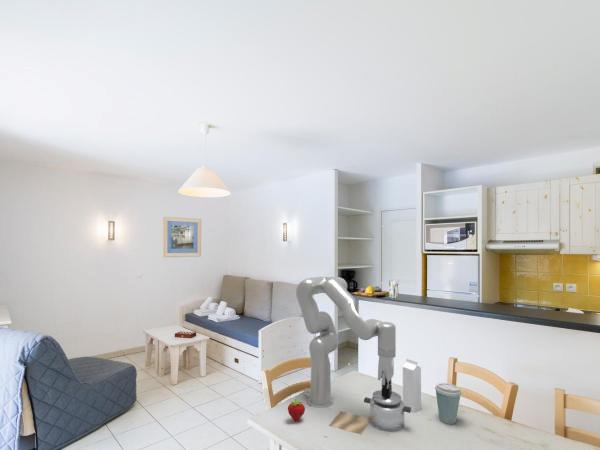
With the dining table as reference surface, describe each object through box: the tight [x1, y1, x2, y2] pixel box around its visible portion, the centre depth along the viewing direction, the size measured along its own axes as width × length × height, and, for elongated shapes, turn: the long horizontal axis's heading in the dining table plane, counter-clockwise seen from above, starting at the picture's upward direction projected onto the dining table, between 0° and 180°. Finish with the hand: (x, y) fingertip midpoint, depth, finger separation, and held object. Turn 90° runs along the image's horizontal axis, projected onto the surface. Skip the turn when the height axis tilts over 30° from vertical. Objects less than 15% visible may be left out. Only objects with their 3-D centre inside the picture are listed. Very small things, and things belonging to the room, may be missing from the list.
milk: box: [402, 358, 422, 413], centre depth 159 cm, size 6×6×22 cm
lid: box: [372, 383, 402, 405], centre depth 145 cm, size 12×12×6 cm
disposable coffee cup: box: [434, 382, 462, 425], centre depth 148 cm, size 11×11×15 cm
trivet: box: [328, 410, 370, 435], centre depth 145 cm, size 14×14×1 cm
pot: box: [363, 396, 412, 433], centre depth 144 cm, size 20×14×9 cm
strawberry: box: [287, 398, 306, 422], centre depth 146 cm, size 6×8×10 cm
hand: (386, 394), depth 145 cm, fingers closed on lid, 3 cm apart
